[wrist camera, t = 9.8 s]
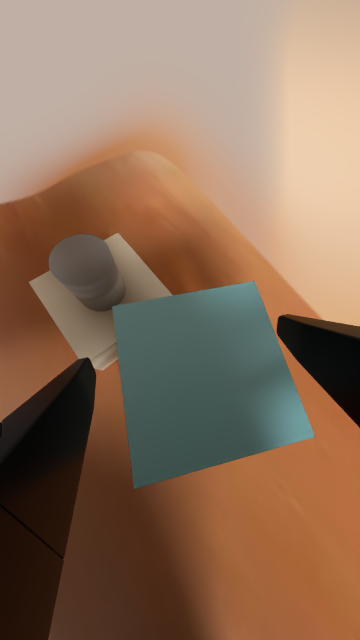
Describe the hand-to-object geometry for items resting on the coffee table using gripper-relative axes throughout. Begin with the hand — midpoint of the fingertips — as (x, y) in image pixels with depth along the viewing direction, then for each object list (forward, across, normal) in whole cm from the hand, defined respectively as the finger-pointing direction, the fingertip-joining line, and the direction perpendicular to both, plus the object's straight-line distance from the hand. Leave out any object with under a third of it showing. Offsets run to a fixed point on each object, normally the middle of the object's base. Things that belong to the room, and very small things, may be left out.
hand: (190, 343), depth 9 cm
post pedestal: (+8, +4, +1) cm, 10 cm away
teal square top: (+4, 0, +6) cm, 7 cm away
